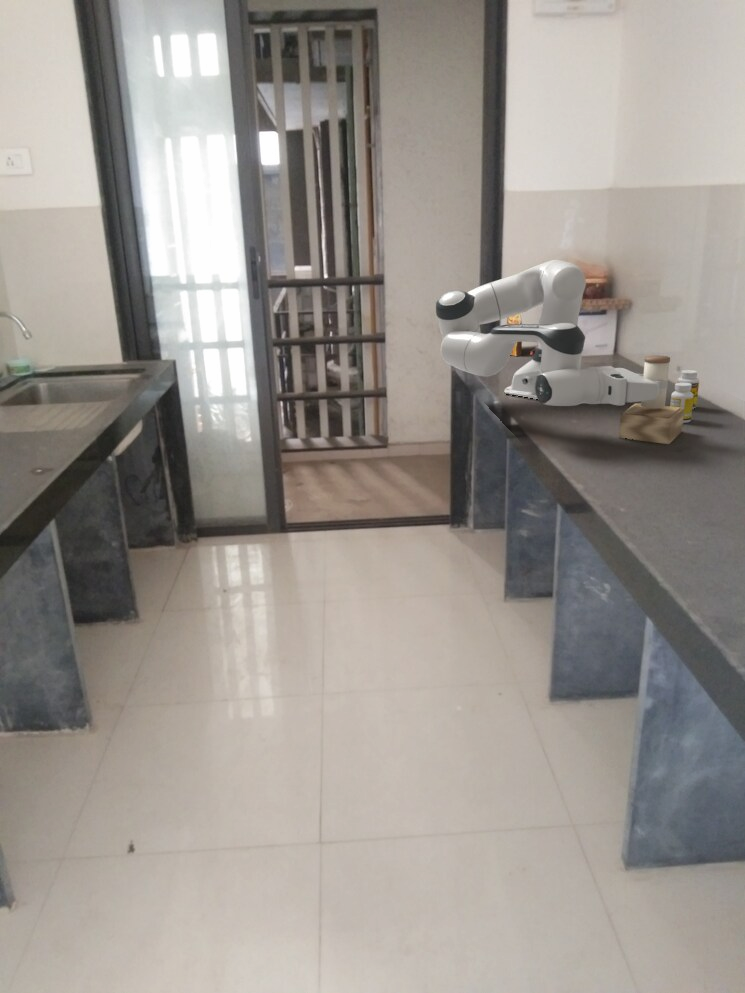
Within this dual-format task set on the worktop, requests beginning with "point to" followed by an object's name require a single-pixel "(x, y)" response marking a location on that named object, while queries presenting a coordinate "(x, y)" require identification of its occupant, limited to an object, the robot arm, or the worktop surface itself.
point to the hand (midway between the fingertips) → (658, 381)
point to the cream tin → (656, 378)
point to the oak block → (651, 423)
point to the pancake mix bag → (518, 346)
